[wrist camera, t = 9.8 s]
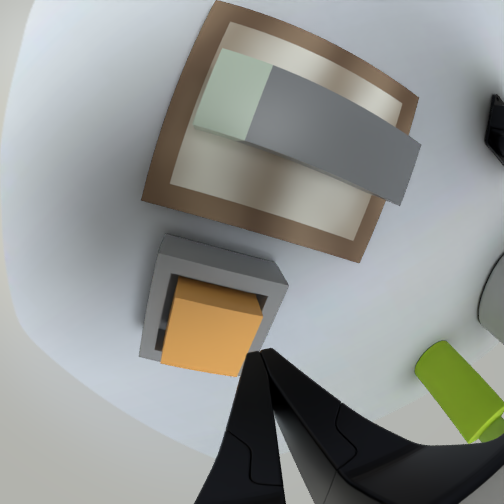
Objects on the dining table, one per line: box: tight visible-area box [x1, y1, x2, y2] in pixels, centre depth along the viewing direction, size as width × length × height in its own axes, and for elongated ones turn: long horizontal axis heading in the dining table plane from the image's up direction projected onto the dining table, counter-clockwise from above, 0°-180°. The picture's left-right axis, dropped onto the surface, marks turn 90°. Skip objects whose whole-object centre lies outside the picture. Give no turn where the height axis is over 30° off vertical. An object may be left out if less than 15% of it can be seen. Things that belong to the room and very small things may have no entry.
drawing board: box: [141, 0, 419, 263], centre depth 17 cm, size 16×14×1 cm
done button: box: [161, 276, 263, 377], centre depth 17 cm, size 5×5×3 cm
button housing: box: [139, 233, 289, 376], centre depth 19 cm, size 8×8×4 cm
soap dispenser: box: [415, 341, 504, 444], centre depth 20 cm, size 6×7×20 cm
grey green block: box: [192, 48, 421, 206], centre depth 15 cm, size 12×4×4 cm, turn 71°
